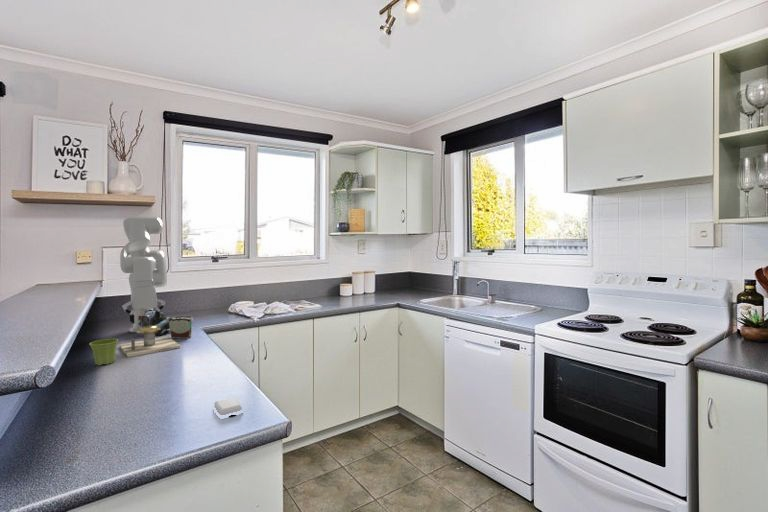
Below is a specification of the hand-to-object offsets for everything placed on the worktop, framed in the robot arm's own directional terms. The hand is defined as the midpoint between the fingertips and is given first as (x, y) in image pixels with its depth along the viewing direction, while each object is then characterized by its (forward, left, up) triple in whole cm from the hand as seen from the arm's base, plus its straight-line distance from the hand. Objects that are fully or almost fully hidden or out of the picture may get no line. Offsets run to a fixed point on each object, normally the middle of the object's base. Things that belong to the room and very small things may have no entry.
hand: (145, 321), depth 186 cm
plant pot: (+20, -18, -11) cm, 29 cm away
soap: (+97, +2, -11) cm, 98 cm away
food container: (-4, +17, -11) cm, 21 cm away
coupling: (+4, 0, -3) cm, 5 cm away
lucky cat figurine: (-21, +9, -11) cm, 25 cm away
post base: (+7, 0, -11) cm, 13 cm away
